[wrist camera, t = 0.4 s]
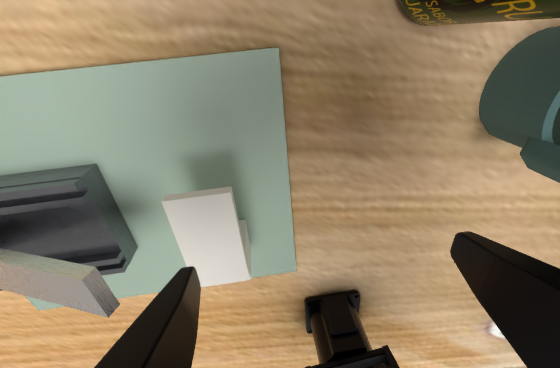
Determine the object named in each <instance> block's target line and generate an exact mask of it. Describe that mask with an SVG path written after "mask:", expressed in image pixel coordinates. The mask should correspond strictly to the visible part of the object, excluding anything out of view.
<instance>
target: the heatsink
mask: <svg viewBox="0 0 560 368" xmlns="http://www.w3.org/2000/svg"><path fill="white" fill-rule="evenodd" d="M0 248H2V249H7V250H12V251H17V252H22V253H27V254H32V255H38V256H43V257H48V258H53V259H58V260H63V261H68V262H73V263H78V264H83V265H88V266H93V267H96V268H97V269H98V271H99V272H100V274H101V276H103V275H110V274H117V273H124V272H125V271H126V269H127V267H128V265H129V264H130V262H131V260H132V258H133V256H134V254H135V252H136V250H137V248H138V245H137V243H136V241H135V239H134V237H133V235H132V233H131V231H130V229H129V227H128V225H127V223H126V221H125V219H124V217H123V215H122V213H121V211H120V209H119V207H118V205H117V203H116V201H115V199H114V197H113V195H112V193H111V191H110V189H109V187H108V185H107V183H106V181H105V179H104V177H103V175H102V173H101V171H100V169H99V167H98V165H97V164H89V165H81V166H73V167H65V168H57V169H49V170H41V171H33V172H25V173H17V174H9V175H1V176H0ZM0 291H2V289H0Z"/></svg>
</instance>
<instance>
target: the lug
mask: <svg viewBox="0 0 560 368" xmlns="http://www.w3.org/2000/svg"><path fill="white" fill-rule="evenodd" d="M161 202H162V204H163V207H164V210H165V212H166V215H167V217H168V220H169V222H170V225H171V228H172V230H173V233H174V235H175V238H176V240H177V243H178V246H179V248H180V251H181V253H182V256H183V258H184V261H185V263H186V266H187V267H189V266H194V267H195V268H196V271H197V275H198V278H199V281H200V285H201V287H207V286H214V285H220V284H227V283H233V282H240V281H246V280H251V245H250V240H249V235H248V230H247V225H246V220H245V219H244V220H238V215H237V211H236V206H235V201H234V197H233V192H232V188H231V186H230V187H223V188H215V189H208V190H200V191H193V192H185V193H178V194H170V195H165V196H164V198H163V200H162V201H161Z"/></svg>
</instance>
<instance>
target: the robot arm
mask: <svg viewBox="0 0 560 368" xmlns="http://www.w3.org/2000/svg"><path fill="white" fill-rule="evenodd" d="M450 253H451V257H452V259H453V260H454V262H455V263H456V265H457V267H458V268H459V270H460V272H461V273H462V275H463V277H464V278H465V280H466V282H467V283H468V285H469V287H470V288H471V290H472V292H473V293H474V295H475V296H476V298H477V299H478V301H479V302H480V304H481V305H482V306H483V308H484V309H485V310H486V312H487V313H488V315H489V316H490V317H491V319H492V320H493V321H494V323H495V324H496V325H497V327H498V328H499V330H500V331H501V332H502V334H503V335H504V336H505V338H506V339H507V340H508V342H509V343H510V345H511V346H512V347H513V349H514V350H515V351H516V353H517V354H518V355H519V357H520V358H521V360H522V361H523V362H524V364H525V365H526V366H527V368H560V269H559V268H557V267H554V266H552V265H550V264H547V263H545V262H542V261H540V260H538V259H535V258H533V257H530V256H528V255H526V254H523V253H521V252H518V251H516V250H514V249H511V248H509V247H506V246H504V245H502V244H499V243H497V242H494V241H492V240H490V239H487V238H485V237H483V236H480V235H478V234H475V233H473V232H469V231H467V232H459V233H457V234H456V235H455V238H454V241H453V244H452V246H451V250H450ZM200 292H201V285H200V281H199V278H198V275H197V271H196V268H195V267H194V266H189V267H182V268H181V269H179V271H178V272H177V273H176V274H175V275H174V276H173V278H172V279H171V280H170V281H169V282H168V283H167V284H166V286H165V287H164V288H163V289H162V290H161V291H160V292H159V294H158V295H157V296H156V297H155V298H154V299H153V301H152V302H151V303H150V304H149V305H148V306H147V307H146V309H145V310H144V311H143V312H142V313H141V314H140V316H139V317H138V318H137V319H136V320H135V321H134V322H133V324H132V325H131V326H130V327H129V328H128V329H127V330H126V332H125V333H124V334H123V335H122V336H121V337H120V339H119V340H118V341H117V342H116V343H115V344H114V345H113V347H112V348H111V349H110V350H109V351H108V352H107V353H106V355H105V356H104V357H103V358H102V359H101V360H100V362H99V363H98V364H97V365H96V366H95V367H94V368H191V366H192V360H193V355H194V350H195V345H196V338H197V329H198V317H199V305H200ZM359 304H360V293H359V292H358V291H351V292H345V293H339V294H332V295H326V296H320V297H313V298H308V299H306V300H305V316H306V330H307V333H309V334H311V333H313V337H314V341H315V346H316V350H317V355H318V359H319V365H315V366H307V367H305V368H399V366H398V364H397V362H396V360H395V358H394V356H393V355H392V353H391V351H390V349H389V347H388V345H386V346H382V348H379V349H375V350H372V348H371V346H370V343H369V341H368V338H367V336H366V333H365V331H364V328H363V326H362V323H361V321H360V318H359V316H358V312H359Z"/></svg>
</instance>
